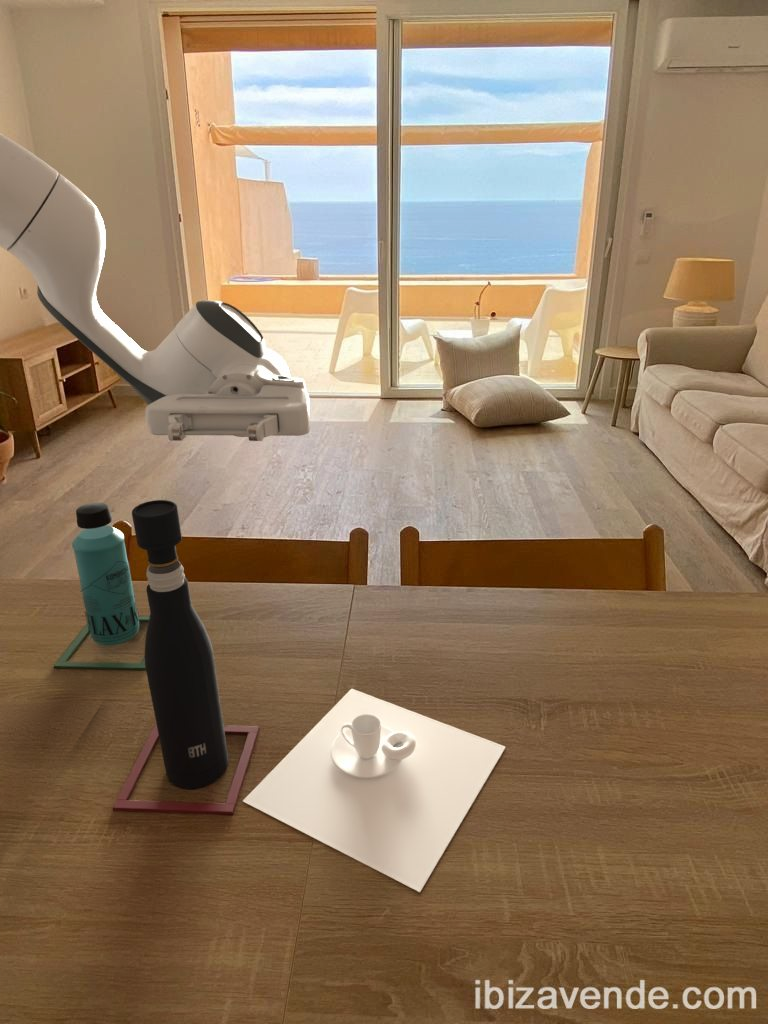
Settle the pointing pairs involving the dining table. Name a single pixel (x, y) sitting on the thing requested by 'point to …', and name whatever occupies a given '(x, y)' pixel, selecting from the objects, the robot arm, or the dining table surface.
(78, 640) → the green square
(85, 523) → the beverage bottle
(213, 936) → the dining table surface
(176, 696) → the insulated water bottle
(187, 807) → the red square
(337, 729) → the teacup and saucer
